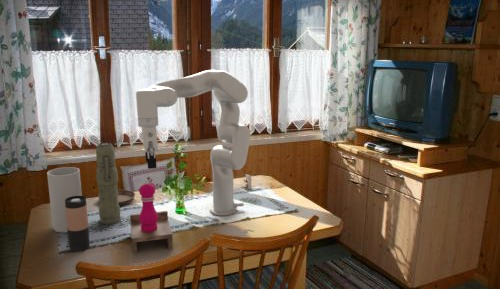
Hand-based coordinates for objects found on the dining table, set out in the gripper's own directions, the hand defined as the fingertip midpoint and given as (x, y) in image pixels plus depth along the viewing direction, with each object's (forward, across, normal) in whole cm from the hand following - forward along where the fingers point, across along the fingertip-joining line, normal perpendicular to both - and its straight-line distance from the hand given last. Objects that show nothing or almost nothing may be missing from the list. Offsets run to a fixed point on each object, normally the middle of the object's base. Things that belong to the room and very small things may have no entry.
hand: (151, 164), depth 175 cm
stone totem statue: (+31, +24, +18) cm, 43 cm away
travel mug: (+31, -1, +29) cm, 42 cm away
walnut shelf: (+31, -3, +2) cm, 31 cm away
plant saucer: (+32, +49, +14) cm, 60 cm away
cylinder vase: (+31, +21, +35) cm, 51 cm away
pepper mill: (+25, -4, +3) cm, 26 cm away
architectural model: (+33, +50, -54) cm, 80 cm away
